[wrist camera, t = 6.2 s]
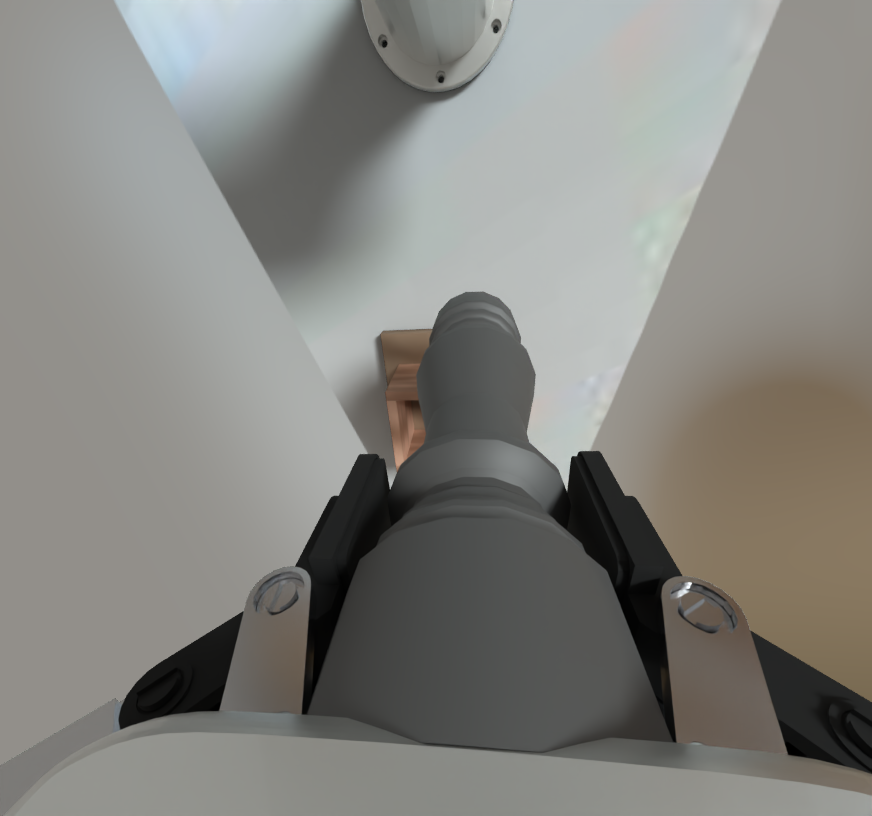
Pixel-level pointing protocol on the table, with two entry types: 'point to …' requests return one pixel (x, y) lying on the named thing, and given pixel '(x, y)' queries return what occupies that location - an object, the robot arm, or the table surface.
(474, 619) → the candle holder
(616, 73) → the table surface
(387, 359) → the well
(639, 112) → the table surface
